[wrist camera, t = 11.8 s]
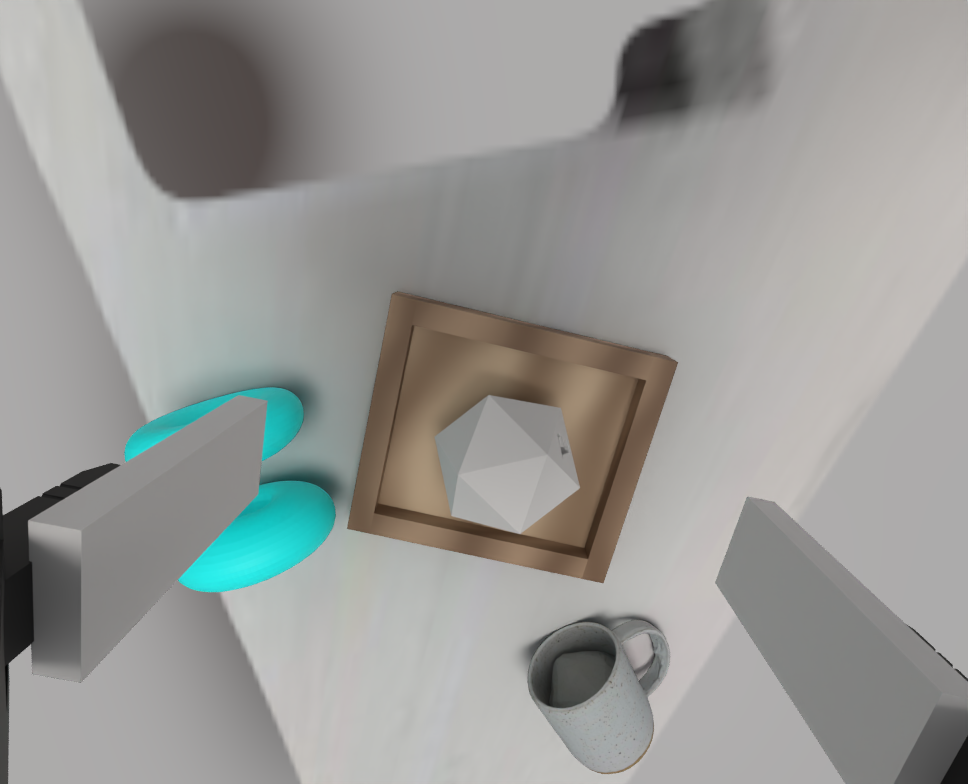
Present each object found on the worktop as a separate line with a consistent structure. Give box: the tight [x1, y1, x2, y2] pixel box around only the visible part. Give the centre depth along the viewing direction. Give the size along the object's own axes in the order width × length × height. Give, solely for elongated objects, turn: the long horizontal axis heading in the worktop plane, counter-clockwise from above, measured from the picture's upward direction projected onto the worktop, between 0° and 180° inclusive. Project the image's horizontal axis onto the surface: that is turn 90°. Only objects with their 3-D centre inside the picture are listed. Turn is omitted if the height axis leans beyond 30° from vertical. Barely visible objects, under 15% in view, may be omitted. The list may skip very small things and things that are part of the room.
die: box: [435, 395, 580, 534], centre depth 34 cm, size 8×9×10 cm
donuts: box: [124, 387, 336, 592], centre depth 34 cm, size 10×10×10 cm
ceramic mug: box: [528, 620, 670, 774], centre depth 39 cm, size 10×8×7 cm
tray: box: [347, 291, 678, 583], centre depth 37 cm, size 19×17×2 cm
